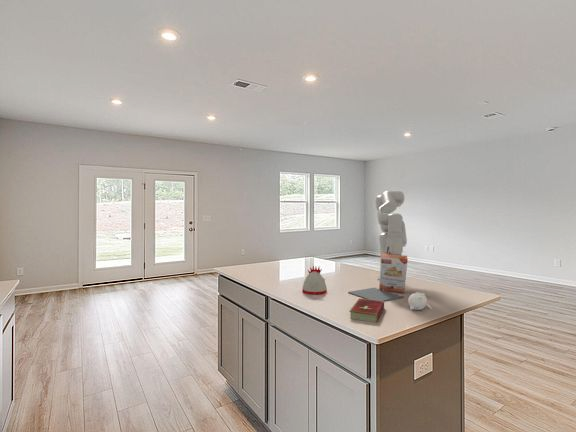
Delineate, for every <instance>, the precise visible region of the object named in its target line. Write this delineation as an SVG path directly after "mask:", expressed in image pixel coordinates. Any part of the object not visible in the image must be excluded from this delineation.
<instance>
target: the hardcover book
mask: <svg viewBox="0 0 576 432" xmlns="http://www.w3.org/2000/svg"><path fill="white" fill-rule="evenodd" d="M384 309H385V301H378V300H369V299H364V298H361V297H359V298H358V300H357V301H356V302H355V303H354V305H352V307H351V308H350V309H349V312H350V314H349V315H350V318H352V319H351V320H357V319H359V320H358V321H364V320H367V321H366V322H371V321H374V322H373V323H376V322H377V321H378V322H379V319H380V317H381V315H382V313H383V311H384ZM378 322H377V323H378Z"/></svg>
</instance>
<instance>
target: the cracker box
mask: <svg viewBox="0 0 576 432" xmlns="http://www.w3.org/2000/svg"><path fill="white" fill-rule="evenodd" d="M408 261H409V260H408V255H403V254H401V255H393V254H384V253H382V259H381V271H379V276H380V280H379V287H378V289H380V290H384V291H387V292H396V293H403V294H404V293H405V289H406V279H407V270H408Z"/></svg>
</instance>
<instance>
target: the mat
mask: <svg viewBox="0 0 576 432" xmlns="http://www.w3.org/2000/svg"><path fill="white" fill-rule="evenodd" d="M347 293H348V294H350V295H353V296H356V297H359V298H360V299H369V300H378V301H384V302H388V301H394V300H398V299H404V297H405V296H404V295H400V294H397V293H394V292H392V291H388V290H380V289H379V288H377V287H370V288H363V289H357V290H351V291H348V292H347Z"/></svg>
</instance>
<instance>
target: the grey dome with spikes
mask: <svg viewBox="0 0 576 432" xmlns="http://www.w3.org/2000/svg"><path fill="white" fill-rule="evenodd" d="M309 269H310V270H309ZM309 269H307V275H306V277H305V279H304V281H303V284H302V293H304V294H305V293H306V295H310V296H311V295H313V296H317V295H318V296H319V295H324V294H326V293H327V289H328V288H327V285H326V284H327V283H326V279H325V277H324V276H323V275H322V274H321V272H322V268H320V267H318V268H317V266H315V267H314V265H313V266H312V267H310V268H309Z"/></svg>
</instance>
